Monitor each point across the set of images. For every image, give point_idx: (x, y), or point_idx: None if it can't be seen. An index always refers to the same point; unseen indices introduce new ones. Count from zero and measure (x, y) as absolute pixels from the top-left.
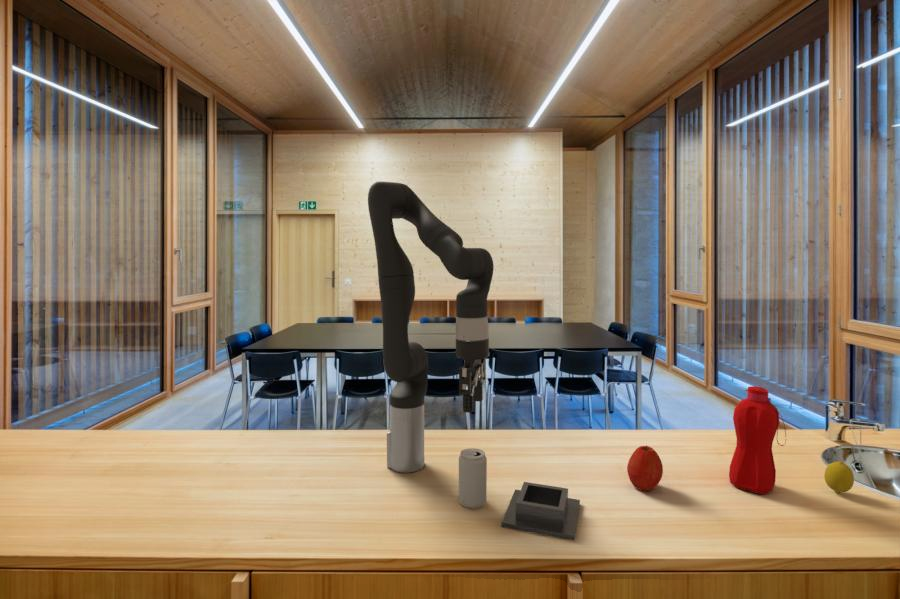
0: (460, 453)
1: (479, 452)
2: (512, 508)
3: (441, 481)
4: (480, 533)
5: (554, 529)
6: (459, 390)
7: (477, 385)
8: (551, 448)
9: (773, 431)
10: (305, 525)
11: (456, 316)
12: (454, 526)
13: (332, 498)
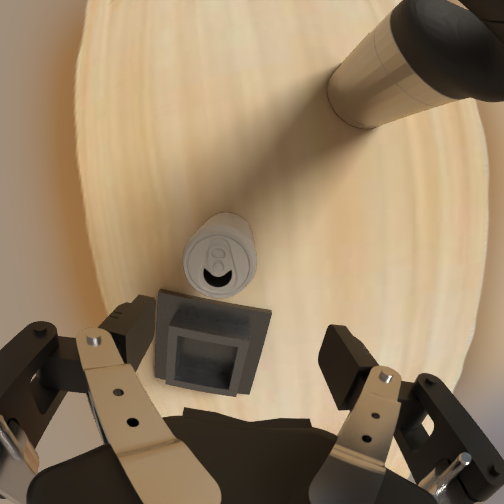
0: (211, 232)
1: (229, 283)
2: (203, 309)
3: (304, 168)
4: (137, 258)
5: (161, 358)
6: (20, 335)
7: (353, 391)
8: (423, 351)
9: None
10: (136, 13)
11: None
12: (146, 215)
13: (212, 8)
